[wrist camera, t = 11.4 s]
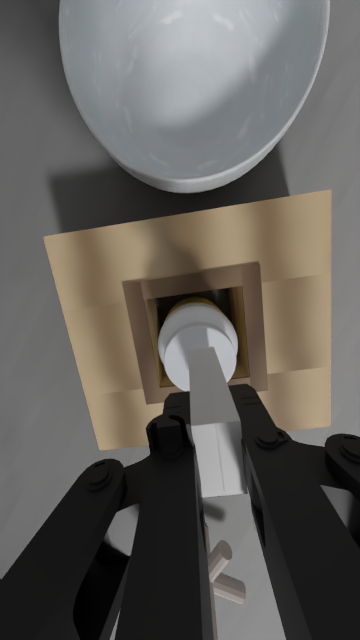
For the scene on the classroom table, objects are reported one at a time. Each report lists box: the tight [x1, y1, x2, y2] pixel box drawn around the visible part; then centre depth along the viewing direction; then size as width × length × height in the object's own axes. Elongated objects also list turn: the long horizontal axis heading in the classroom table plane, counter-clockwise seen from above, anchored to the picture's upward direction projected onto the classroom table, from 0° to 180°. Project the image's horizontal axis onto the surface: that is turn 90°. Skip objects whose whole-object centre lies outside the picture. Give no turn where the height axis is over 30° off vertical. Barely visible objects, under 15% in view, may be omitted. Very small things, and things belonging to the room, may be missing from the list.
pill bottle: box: [158, 296, 238, 391], centre depth 19 cm, size 6×6×11 cm
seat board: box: [43, 189, 331, 450], centre depth 22 cm, size 22×20×6 cm
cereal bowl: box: [59, 0, 330, 194], centre depth 17 cm, size 17×17×7 cm
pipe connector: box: [205, 526, 246, 640], centre depth 27 cm, size 10×10×10 cm
